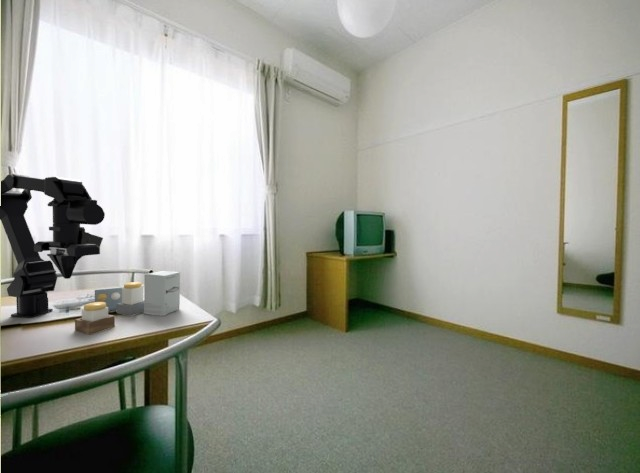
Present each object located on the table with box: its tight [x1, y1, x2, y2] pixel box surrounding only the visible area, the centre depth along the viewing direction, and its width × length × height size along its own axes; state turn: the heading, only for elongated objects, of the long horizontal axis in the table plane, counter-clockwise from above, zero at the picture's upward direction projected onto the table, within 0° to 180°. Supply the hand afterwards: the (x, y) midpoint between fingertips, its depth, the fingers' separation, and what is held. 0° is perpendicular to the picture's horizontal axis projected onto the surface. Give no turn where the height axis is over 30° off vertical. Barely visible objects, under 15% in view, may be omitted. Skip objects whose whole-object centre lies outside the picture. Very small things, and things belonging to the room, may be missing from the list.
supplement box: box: [143, 270, 181, 317], centre depth 90 cm, size 7×7×13 cm
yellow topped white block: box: [121, 281, 144, 305], centre depth 89 cm, size 5×5×6 cm
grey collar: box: [116, 299, 144, 317], centre depth 89 cm, size 6×6×3 cm
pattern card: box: [94, 286, 123, 312], centre depth 90 cm, size 2×7×7 cm, turn 126°
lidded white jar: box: [81, 301, 109, 322], centre depth 75 cm, size 5×5×6 cm
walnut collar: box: [74, 314, 116, 336], centre depth 75 cm, size 6×6×3 cm
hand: (67, 278), depth 80 cm, fingers closed
